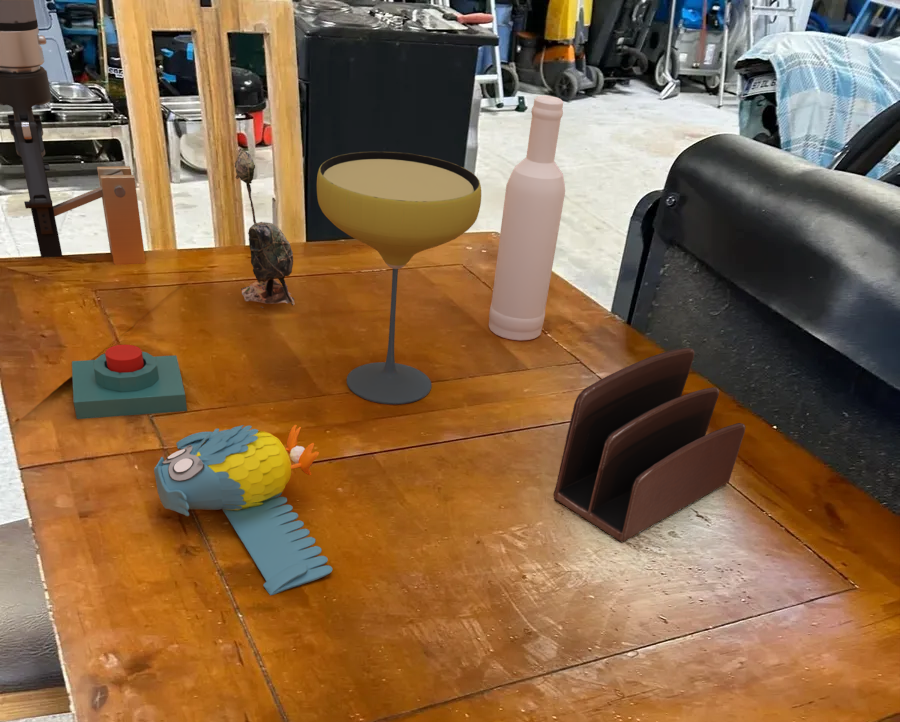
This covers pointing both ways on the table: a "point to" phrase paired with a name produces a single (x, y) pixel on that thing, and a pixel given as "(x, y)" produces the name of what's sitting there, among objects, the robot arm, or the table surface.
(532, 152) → the bottle
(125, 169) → the bracket
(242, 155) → the stone bird sculpture
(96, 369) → the button block
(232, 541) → the table surface
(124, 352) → the button
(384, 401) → the cocktail glass
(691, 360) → the letter holder
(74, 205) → the lever
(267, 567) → the owl figurine
